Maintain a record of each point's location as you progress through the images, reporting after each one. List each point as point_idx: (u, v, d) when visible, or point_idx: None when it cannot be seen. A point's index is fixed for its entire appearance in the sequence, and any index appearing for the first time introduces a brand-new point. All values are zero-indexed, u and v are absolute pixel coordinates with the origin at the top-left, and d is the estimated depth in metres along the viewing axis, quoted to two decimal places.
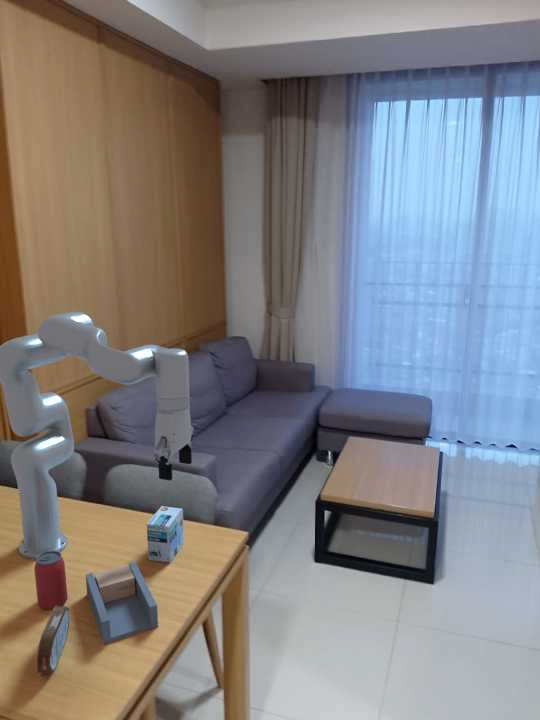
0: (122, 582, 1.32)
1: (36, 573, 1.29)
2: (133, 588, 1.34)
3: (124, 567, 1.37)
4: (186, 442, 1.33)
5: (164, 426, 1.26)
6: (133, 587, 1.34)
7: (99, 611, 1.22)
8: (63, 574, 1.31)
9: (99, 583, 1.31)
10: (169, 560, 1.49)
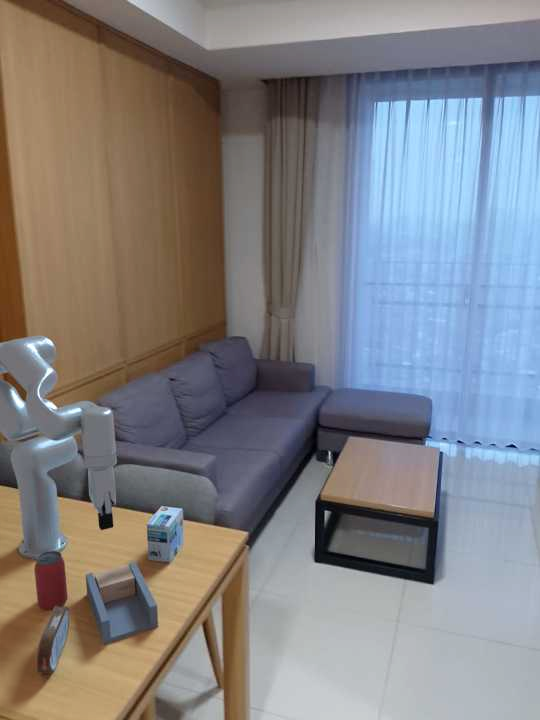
0: (122, 582, 1.32)
1: (36, 573, 1.29)
2: (133, 588, 1.34)
3: (124, 567, 1.37)
4: None
5: (107, 481, 1.32)
6: (133, 587, 1.34)
7: (99, 611, 1.22)
8: (63, 574, 1.31)
9: (99, 583, 1.31)
10: (169, 560, 1.49)
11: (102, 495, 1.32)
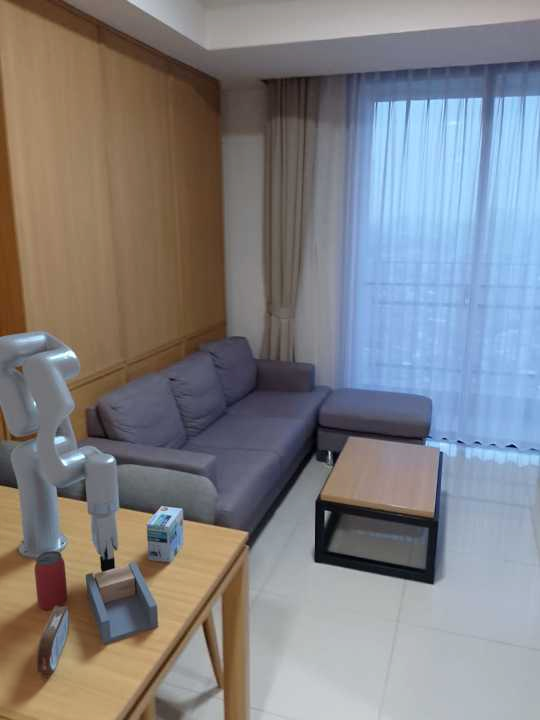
0: (122, 582, 1.32)
1: (36, 573, 1.29)
2: (133, 588, 1.34)
3: (124, 567, 1.37)
4: None
5: (109, 528, 1.35)
6: (133, 587, 1.34)
7: (99, 611, 1.22)
8: (63, 574, 1.31)
9: (99, 583, 1.31)
10: (169, 560, 1.49)
11: (104, 541, 1.35)
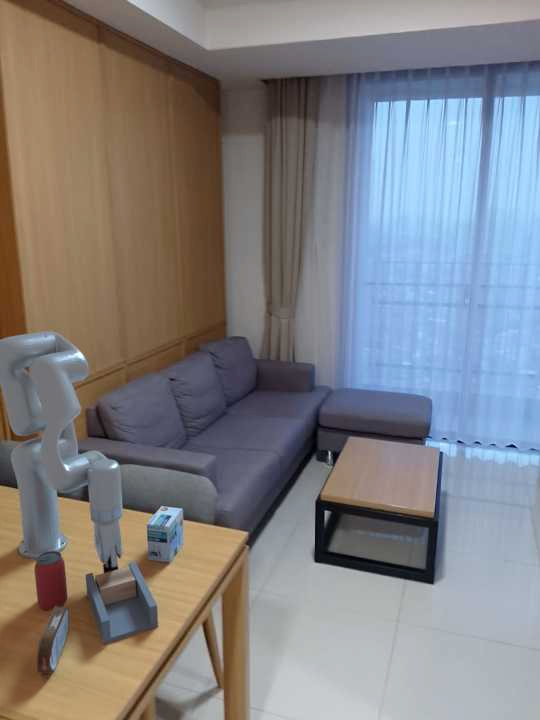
0: (123, 584, 1.31)
1: (36, 573, 1.29)
2: (134, 590, 1.33)
3: (125, 569, 1.37)
4: None
5: (113, 535, 1.32)
6: (134, 589, 1.33)
7: (99, 611, 1.22)
8: (63, 574, 1.31)
9: (100, 585, 1.30)
10: (169, 560, 1.49)
11: (108, 549, 1.31)
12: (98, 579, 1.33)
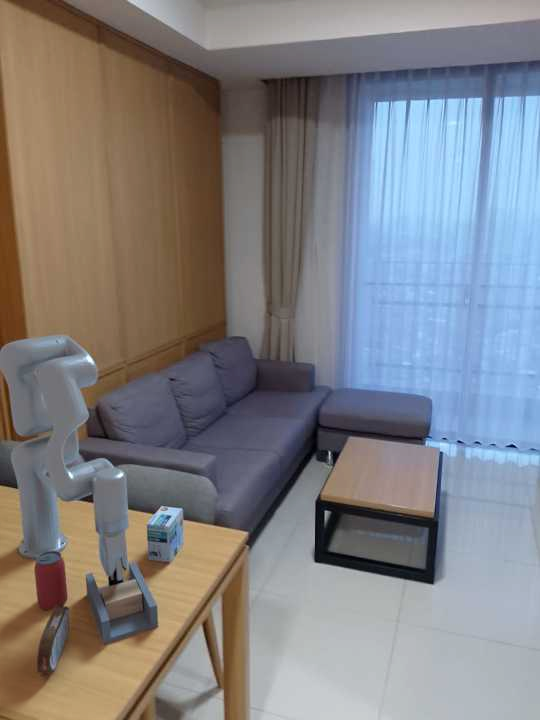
0: (129, 598, 1.26)
1: (36, 573, 1.29)
2: (140, 604, 1.28)
3: (131, 582, 1.32)
4: None
5: (118, 548, 1.27)
6: (140, 603, 1.28)
7: (99, 611, 1.22)
8: (63, 574, 1.31)
9: (105, 599, 1.25)
10: (169, 560, 1.49)
11: (114, 562, 1.26)
12: (103, 593, 1.28)
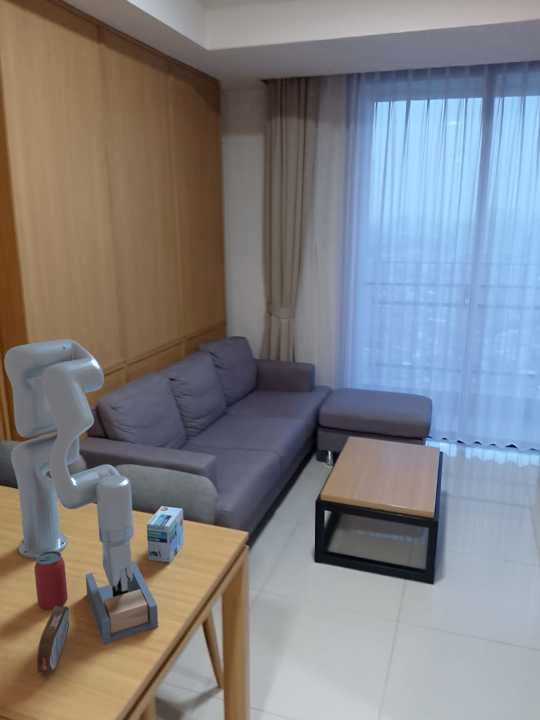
0: (134, 609, 1.23)
1: (36, 573, 1.29)
2: (146, 615, 1.24)
3: (136, 592, 1.28)
4: None
5: (123, 557, 1.23)
6: (146, 614, 1.24)
7: (99, 611, 1.22)
8: (63, 574, 1.31)
9: (109, 610, 1.22)
10: (169, 560, 1.49)
11: (118, 572, 1.23)
12: (107, 604, 1.24)
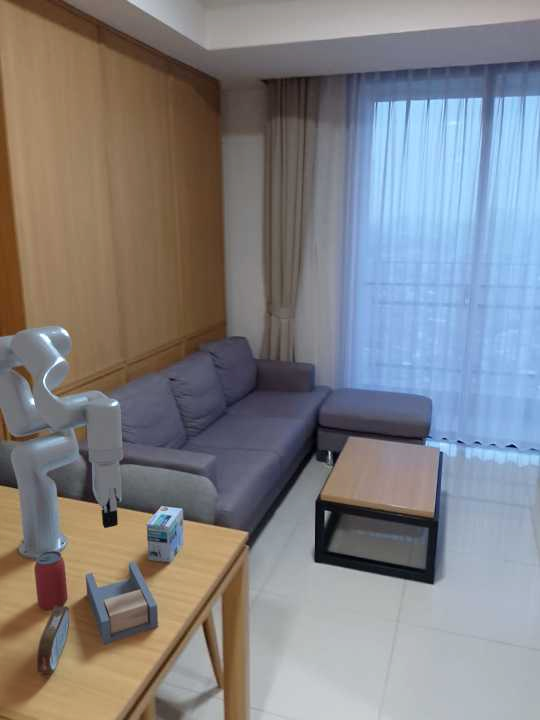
0: (134, 610, 1.23)
1: (36, 573, 1.29)
2: (146, 615, 1.24)
3: (136, 592, 1.28)
4: None
5: (112, 477, 1.24)
6: (146, 614, 1.24)
7: (99, 611, 1.22)
8: (63, 574, 1.31)
9: (109, 611, 1.22)
10: (169, 560, 1.49)
11: (107, 492, 1.24)
12: (107, 604, 1.24)
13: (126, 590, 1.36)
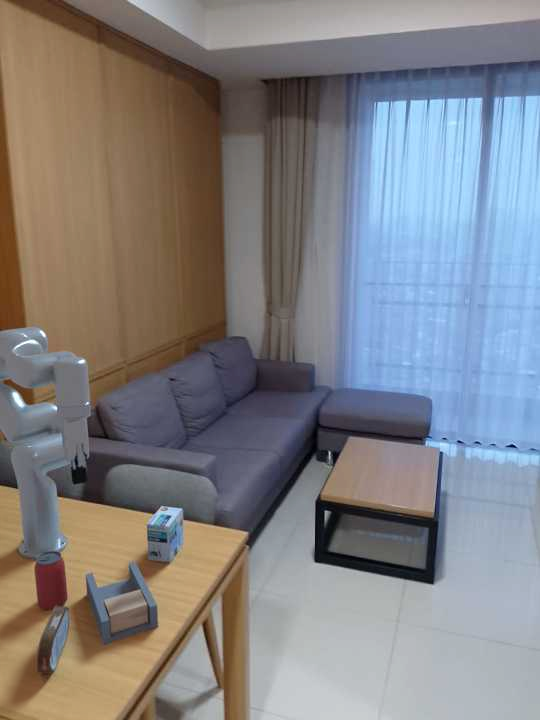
0: (134, 610, 1.23)
1: (36, 573, 1.29)
2: (146, 615, 1.24)
3: (136, 592, 1.28)
4: None
5: (79, 433, 1.28)
6: (146, 614, 1.24)
7: (99, 611, 1.22)
8: (63, 574, 1.31)
9: (109, 611, 1.22)
10: (169, 560, 1.49)
11: (74, 447, 1.28)
12: (107, 604, 1.24)
13: (126, 590, 1.36)
